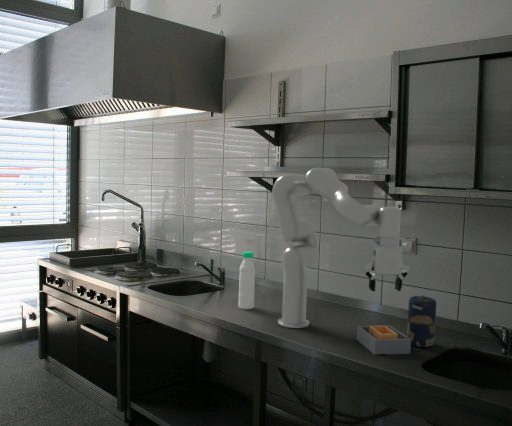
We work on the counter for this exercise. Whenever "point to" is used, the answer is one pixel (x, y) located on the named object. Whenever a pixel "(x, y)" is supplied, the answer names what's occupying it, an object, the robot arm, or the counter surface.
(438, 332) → the counter surface
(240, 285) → the water bottle
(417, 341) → the canister
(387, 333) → the small crate
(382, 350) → the big crate
